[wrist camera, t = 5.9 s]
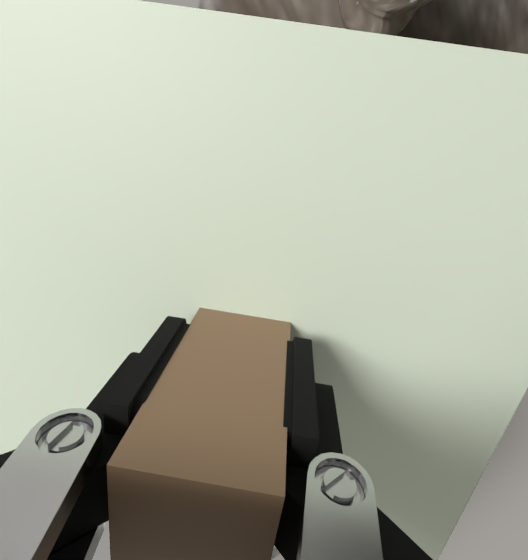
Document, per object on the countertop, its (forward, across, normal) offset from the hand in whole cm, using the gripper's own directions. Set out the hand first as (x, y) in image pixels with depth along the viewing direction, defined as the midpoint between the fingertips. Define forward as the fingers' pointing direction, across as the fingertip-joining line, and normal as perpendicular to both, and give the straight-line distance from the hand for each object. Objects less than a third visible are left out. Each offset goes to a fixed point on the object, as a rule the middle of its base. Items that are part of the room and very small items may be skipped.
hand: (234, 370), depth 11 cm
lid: (+2, 0, 0) cm, 2 cm away
